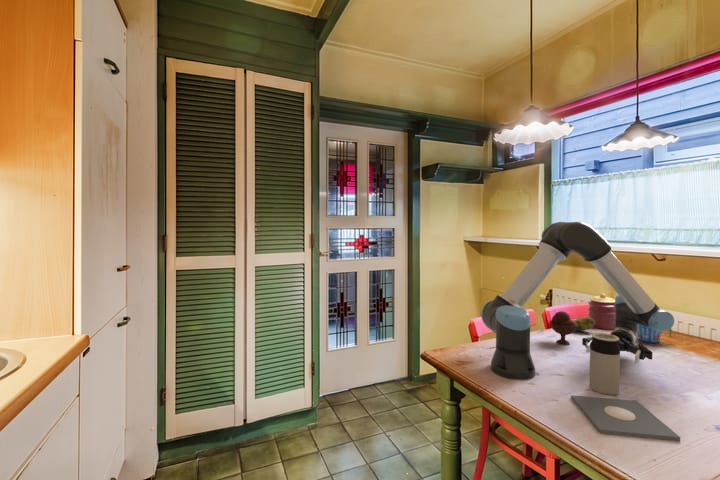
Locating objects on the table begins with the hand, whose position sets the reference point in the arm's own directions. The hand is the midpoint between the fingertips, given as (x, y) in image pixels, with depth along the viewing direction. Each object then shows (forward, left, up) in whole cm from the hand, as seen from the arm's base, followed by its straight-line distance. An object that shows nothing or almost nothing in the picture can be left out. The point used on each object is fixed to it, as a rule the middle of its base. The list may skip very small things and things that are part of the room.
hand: (610, 354), depth 115 cm
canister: (+30, +70, -10) cm, 77 cm away
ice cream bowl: (-1, +39, -10) cm, 40 cm away
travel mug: (-5, -6, -10) cm, 13 cm away
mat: (-9, -23, -10) cm, 27 cm away
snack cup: (+39, +49, -10) cm, 63 cm away
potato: (+14, +59, -10) cm, 61 cm away
